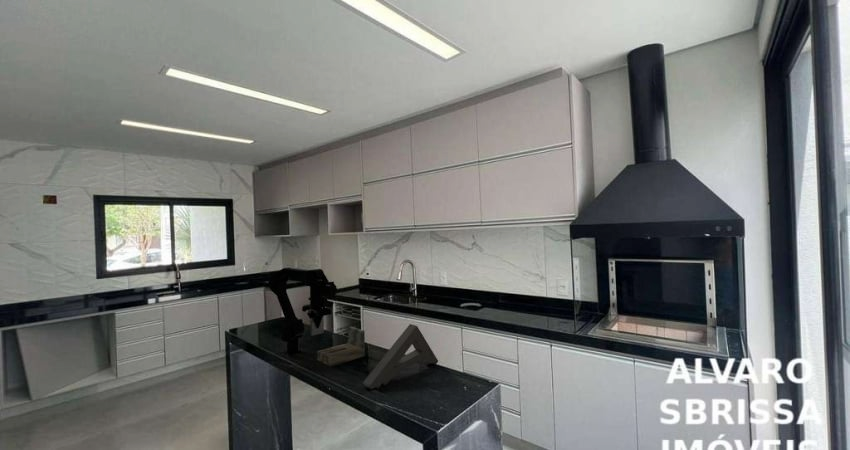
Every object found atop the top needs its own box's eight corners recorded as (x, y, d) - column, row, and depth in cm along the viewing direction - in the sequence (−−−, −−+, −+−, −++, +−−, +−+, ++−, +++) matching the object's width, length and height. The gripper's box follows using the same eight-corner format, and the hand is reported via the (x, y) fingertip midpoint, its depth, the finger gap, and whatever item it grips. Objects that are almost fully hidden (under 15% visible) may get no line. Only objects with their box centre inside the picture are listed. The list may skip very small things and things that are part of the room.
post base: (317, 359, 159) (317, 333, 159) (350, 350, 172) (350, 326, 172) (330, 366, 151) (330, 339, 151) (364, 356, 163) (364, 330, 164)
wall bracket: (389, 418, 138) (431, 358, 156) (396, 422, 135) (438, 361, 152) (362, 382, 129) (409, 324, 147) (369, 386, 126) (416, 325, 144)
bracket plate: (310, 334, 164) (310, 318, 165) (321, 332, 169) (321, 315, 169) (312, 335, 163) (312, 318, 163) (323, 332, 167) (323, 316, 168)
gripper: (341, 295, 165) (341, 327, 165) (322, 291, 179) (322, 321, 178) (319, 298, 157) (320, 332, 157) (301, 294, 171) (301, 325, 170)
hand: (316, 327), depth 166 cm, fingers closed on bracket plate, 2 cm apart
